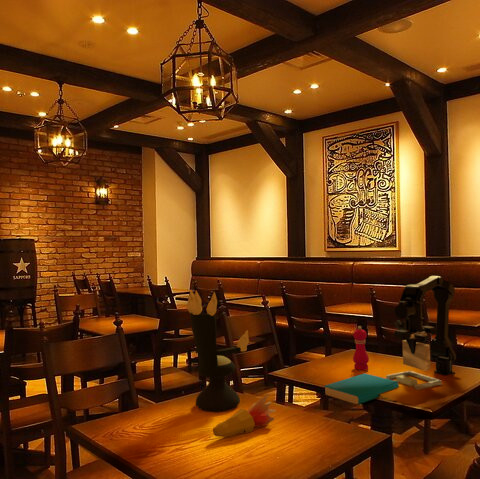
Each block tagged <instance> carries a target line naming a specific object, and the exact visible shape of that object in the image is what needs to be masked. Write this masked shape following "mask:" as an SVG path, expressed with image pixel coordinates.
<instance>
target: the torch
mask: <svg viewBox="0 0 480 479" xmlns="http://www.w3.org/2000/svg"><path fill="white" fill-rule="evenodd" d="M269 396H270V394H267V395H265V396H264V397H261V398H259V399H258V400H257V401H256V402H254V403H252V405H251V406H250V407H249V408H248V410H246V409H244V408H239V410H237V411H236V412H235V413H234V414H233V415H231V416H230V417H228V418H227V419H225V420H224V421H222V422H219V423H217V424H216V425H215V426H214V427H213V428H212V433H213V435H214V436H215V437H219V438H225V437H231V436H234V435H238V434H243V433H245V434H246V433H253V431H254V427H265V426H267V425H268V424H270V423H271V422H273V421H274V420H275V419H276V418H274V417H272V416H270V415H271V414H272V413H274V412H275V411H277V409H270V406H271V404H272V402H271V401H268V402H266V401H267V399H268V397H269Z"/></svg>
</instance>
